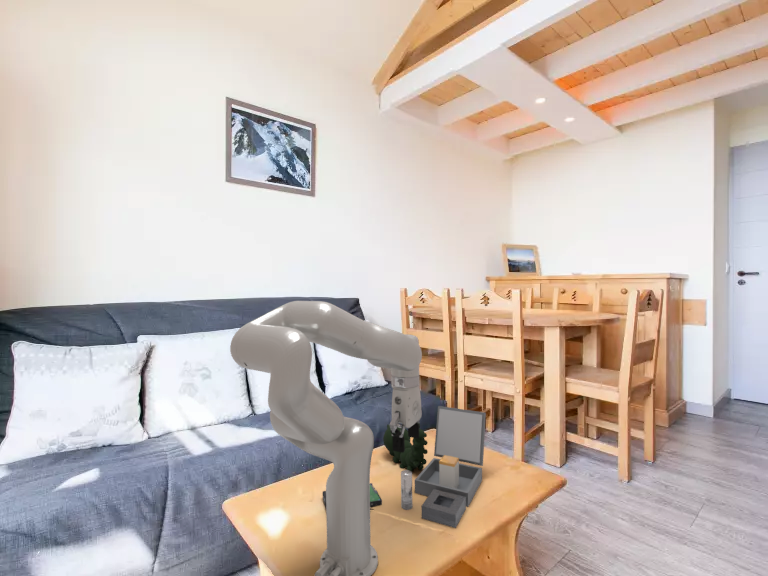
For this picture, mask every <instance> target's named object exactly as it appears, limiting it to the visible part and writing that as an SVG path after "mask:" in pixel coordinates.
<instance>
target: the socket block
mask: <svg viewBox="0 0 768 576" xmlns="http://www.w3.org/2000/svg"><path fill="white" fill-rule="evenodd" d="M466 510H467V507H466V497H464V496H460V495H456V494H452V493H448V492H444V491H440V490H436V489H433V491H432V492H431V493H430V495H429V496H427V497H426V499H425V501H424V502H423V503H422V505H421V519H422V520H426V521H430V522H433V523H436V524H440V525H444V526H447V527H450V528H454V529H457V527H458V526H459V523H460V521H461V519H462V517H463V515H464V513H465V511H466Z"/></svg>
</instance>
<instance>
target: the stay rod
mask: <svg viewBox="0 0 768 576" xmlns="http://www.w3.org/2000/svg"><path fill="white" fill-rule="evenodd" d="M400 500H401V501H400V503H401V504H400V505H401V506H400V507H401V509H403V510H405V511H409V510H412V509H413V471H412V472H411V471H409V470H407V469H404V470H402V471H401V472H400Z"/></svg>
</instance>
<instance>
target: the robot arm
mask: <svg viewBox="0 0 768 576" xmlns="http://www.w3.org/2000/svg"><path fill="white" fill-rule="evenodd" d="M311 343H313V344H316V345H319V346H322V347H325V348H327V349H330V350H334V351H336V352H338V353H340V354H344V355H346V356H349V357H351V358H356V359H360V360H367V362H368V363H369V364H370V365H372V366H374V367H377V368H383V369H391V370H390V371H391V372H390V373H391V379H390V380H391V388H392V395H391V420H390V423H389V425H390V429H391V433H392V437H393V451H397V452H402V453H403V452H404V451H405V438H404V437H403V434H404V430H405V428H406V429H407V431H408V436H409V437H410V438H412V439H413V438H417V439H418V438H419V429H420V428H419V424H417V423H420V420H421V418H422V415H423V412H422V399H421V398H422V395H421V389H420V385H421V384H420V364H421V362H422V360H423V359H422V357H423V353H422V348H421V346H420V344H419V343H420V342H419V338H418V336H416V335H413V334H408V333H407V334H405V333H403V332H402V333H401V332H399V331H396V330H393V329H392V328H391V329H390V328H388V327H384V326H381V325H378V324H375V323H372V322H369V321H366V320H363V319H361V318H360V317H357V315H356V316H355V315H354V314H352V313H350V312H348V311H346V310H344V309H343V308H340V307H338V306H336V305H335V304H332V303H331V302H327V301H323V300H322V301H321V300H293V301H289V302H287V303H284V304H283V305H280V306H278V307H276V308H274V309H272V310H271V311H269V312H266V313H265V314H263V315H261V316H259V317H257V318H254V319H253V320H251V321H249V322H247V323H246V324H244V325H243V326H241V327H240V328H239V329H238V330H236V332H235V333H234V335H233V337H232V339H231V342H230V347H229V350H230V356H231V357H232V359H233V360H234V362H235V363H236V365H239V367H241V368H244V369H247V370H250V371H251V370H252V371H257V372H263V373H268V374H269V375H270V376H269V377H270V379H269V386H268V393H267V395H268V396H267V404H268V405H267V406H268V407H269V410H270V412H269V419H270V424H271V426H272V429H273V430H274V432H275V433H276V434H277V435H279V436H280V437H281V438H283V439H284V440H286V441H288V442H289V443H291V444H292V445H294V446H295V447H297V448H298V449H300V450H302V451H303V452H305V453H307V454H310V455H312V456H314V457H317V458H321V459H324V460H326V461H329V462H331V463H332V464H333V469H332V470H331V472H330V474H329V475H328V477H327V480H326V484H325V491H326V508H325V512H326V516H325V518H326V519H325V520H326V549H324V551H323V553H322V554H321V556H320V560H319V568H318V569H317V570H316V572H315V573H314V576H372V575H373V574H374V572H375V571H376V570H377V568H378V565H379V564H378V563H379V556H378V552H377V550H376V549H375V547H374V546H373V545H371V542H372V541H371V510H370V508H371V507H370V483H371V481H370V479H371V477H370V474H371V466H372V465H371V463H372V456H373V451H374V445H375V437H374V433H373V431H372V429H371V428H370V427H369V425H368V424H366V423H365V422H364V421H361V420H358V419H355V418H352V417H347V416H345V415H343V412H342V410H341V408H339V406H338V404H336V403H335V401H333V400H332V399H330V398H329V397H328V396H327V395H326V394H325V393H324V392H322V391H321V390H320V389H319V388H318V387H316V385H314V383H312V381H311V367H312V361H313V349H312V345H311ZM397 427H398V428H401V431H399V430H398V429H397Z"/></svg>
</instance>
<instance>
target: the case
mask: <svg viewBox="0 0 768 576" xmlns="http://www.w3.org/2000/svg"><path fill="white" fill-rule="evenodd" d="M440 460H441V459H440V458H437V457H433V458H432V459H431V460H430V462H429V463H428V464H426V466H425V467H424V468H423V469H422V470H421V472H420V473H419V474H418V475H417V477H416V478H415V479H414V494H417V495H422V496H426V497H428V496H429V495H430V493H431V492H432V491H433V489H436V490H440V491H444V492H448V493H452V494H456V495H460V496H464V497H466V508H469V507H470V505H471V502H472V500H473V499H474V498H475V497H474V496H475V495H476V493H477V492H478V490H479V488H480V486H481V483H482V482H483V468H482V467H478V466H473V465H468V464H464V463H460V462H459V485H458V487H457V489H456V488H451V487H447V486H443V485H440V479H439V461H440Z"/></svg>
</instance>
